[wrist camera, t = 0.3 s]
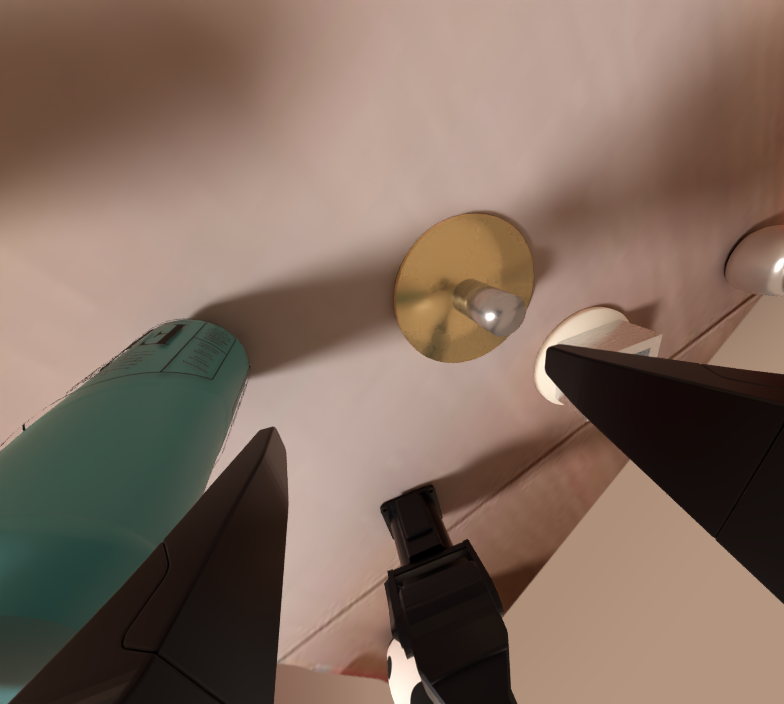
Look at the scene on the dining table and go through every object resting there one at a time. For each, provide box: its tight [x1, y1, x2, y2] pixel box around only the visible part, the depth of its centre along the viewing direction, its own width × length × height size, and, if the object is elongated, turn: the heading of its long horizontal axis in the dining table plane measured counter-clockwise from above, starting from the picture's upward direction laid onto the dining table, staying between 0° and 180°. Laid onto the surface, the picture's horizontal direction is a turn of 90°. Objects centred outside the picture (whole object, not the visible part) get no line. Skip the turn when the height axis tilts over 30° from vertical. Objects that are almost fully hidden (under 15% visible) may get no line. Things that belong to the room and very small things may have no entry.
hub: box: [394, 214, 534, 363], centre depth 21 cm, size 12×12×6 cm
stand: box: [534, 307, 629, 405], centre depth 28 cm, size 11×11×6 cm
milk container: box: [387, 638, 517, 704], centre depth 40 cm, size 17×17×18 cm
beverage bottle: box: [0, 319, 251, 704], centre depth 12 cm, size 6×7×20 cm
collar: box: [555, 319, 662, 422], centre depth 28 cm, size 7×7×4 cm
